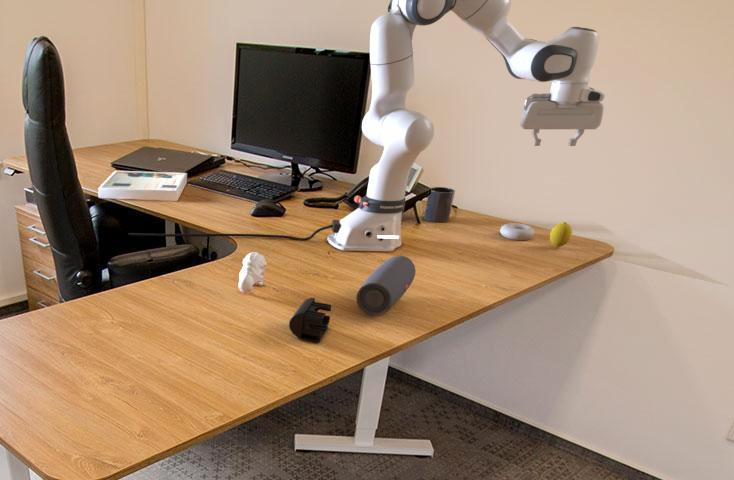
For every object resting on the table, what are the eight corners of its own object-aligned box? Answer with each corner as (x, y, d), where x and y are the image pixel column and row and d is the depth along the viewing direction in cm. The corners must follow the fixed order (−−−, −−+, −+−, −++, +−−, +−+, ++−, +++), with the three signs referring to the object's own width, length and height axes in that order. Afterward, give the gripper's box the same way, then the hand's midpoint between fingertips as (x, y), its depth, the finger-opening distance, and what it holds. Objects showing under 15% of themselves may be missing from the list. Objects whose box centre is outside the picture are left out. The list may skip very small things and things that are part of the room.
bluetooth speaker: (389, 324, 161) (397, 284, 156) (351, 316, 166) (357, 277, 160) (414, 293, 178) (421, 256, 173) (378, 287, 182) (384, 250, 177)
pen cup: (430, 223, 233) (436, 193, 227) (419, 216, 239) (425, 187, 234) (452, 222, 233) (459, 192, 228) (441, 215, 240) (447, 186, 235)
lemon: (565, 246, 211) (573, 220, 207) (568, 251, 206) (576, 225, 202) (545, 244, 212) (553, 218, 208) (548, 249, 208) (555, 223, 204)
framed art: (187, 172, 283) (177, 190, 257) (186, 182, 285) (177, 201, 259) (115, 170, 287) (98, 188, 261) (115, 179, 289) (98, 198, 263)
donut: (538, 242, 214) (526, 232, 223) (541, 231, 213) (529, 221, 221) (504, 241, 215) (494, 231, 224) (507, 230, 213) (497, 221, 222)
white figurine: (268, 251, 181) (256, 269, 172) (266, 280, 186) (255, 300, 177) (245, 248, 183) (232, 266, 174) (244, 277, 188) (231, 296, 179)
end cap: (299, 322, 163) (302, 295, 159) (328, 327, 160) (332, 300, 157) (287, 338, 155) (290, 310, 152) (318, 344, 153) (321, 316, 149)
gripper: (530, 95, 189) (517, 147, 196) (611, 94, 186) (596, 148, 193) (523, 92, 194) (512, 143, 202) (602, 91, 191) (588, 143, 198)
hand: (553, 145), depth 197 cm, fingers open, 8 cm apart
